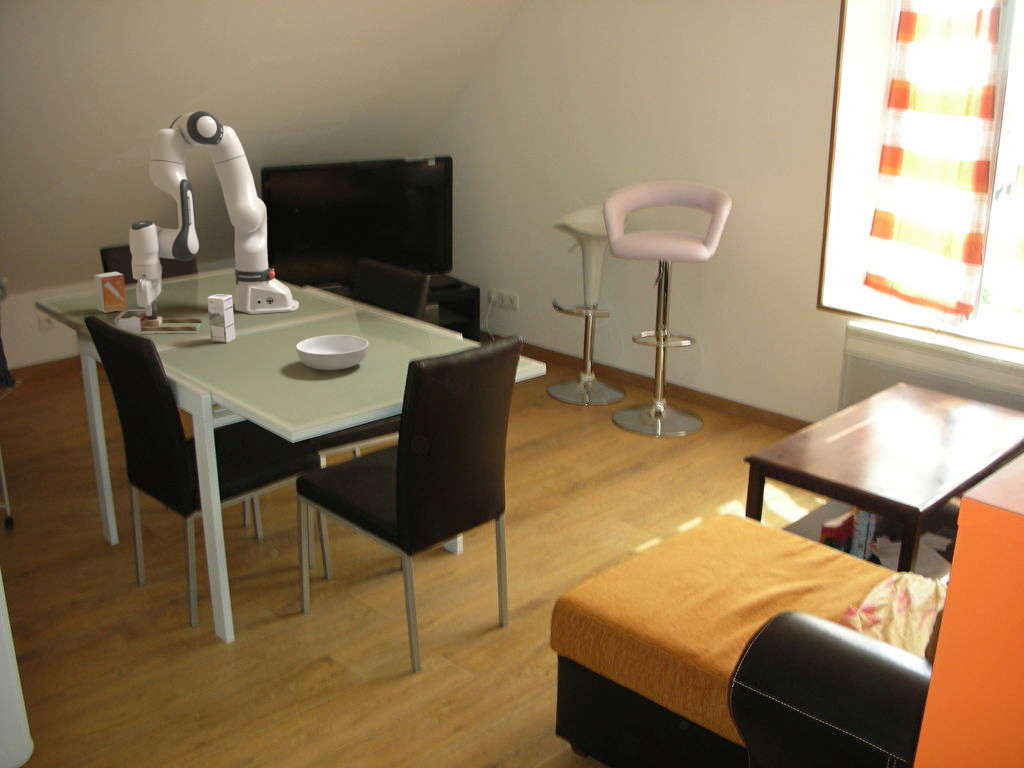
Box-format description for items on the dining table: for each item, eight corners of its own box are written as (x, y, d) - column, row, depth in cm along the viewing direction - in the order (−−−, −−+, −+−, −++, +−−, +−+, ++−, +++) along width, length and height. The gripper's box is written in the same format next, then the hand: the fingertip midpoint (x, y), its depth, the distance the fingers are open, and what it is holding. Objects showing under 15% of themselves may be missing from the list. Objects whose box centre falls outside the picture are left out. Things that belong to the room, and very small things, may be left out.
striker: (163, 324, 349) (160, 298, 346) (158, 330, 341) (156, 303, 339) (144, 324, 348) (141, 298, 345) (139, 330, 341) (136, 303, 338)
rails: (202, 322, 352) (201, 318, 351) (196, 331, 341) (196, 326, 341) (146, 323, 350) (146, 319, 349) (139, 332, 339) (139, 327, 339)
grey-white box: (149, 323, 351) (148, 309, 349) (141, 334, 338) (139, 319, 337) (125, 324, 350) (123, 309, 348) (115, 334, 338) (114, 319, 336)
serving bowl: (336, 352, 321) (335, 330, 319) (383, 365, 309) (383, 342, 306) (282, 367, 306) (280, 344, 304) (330, 381, 293) (328, 358, 291)
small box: (105, 314, 362) (100, 277, 358) (97, 310, 367) (93, 274, 363) (127, 310, 368) (123, 274, 364) (119, 307, 372) (115, 271, 368)
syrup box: (236, 338, 334) (232, 294, 330) (226, 343, 329) (223, 298, 325) (220, 337, 336) (216, 292, 331) (210, 341, 330) (206, 297, 326)
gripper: (150, 278, 329) (154, 321, 334) (163, 265, 349) (167, 306, 353) (129, 279, 329) (133, 321, 333) (143, 265, 348) (147, 306, 352)
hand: (151, 313), depth 343 cm, fingers closed on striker, 3 cm apart
